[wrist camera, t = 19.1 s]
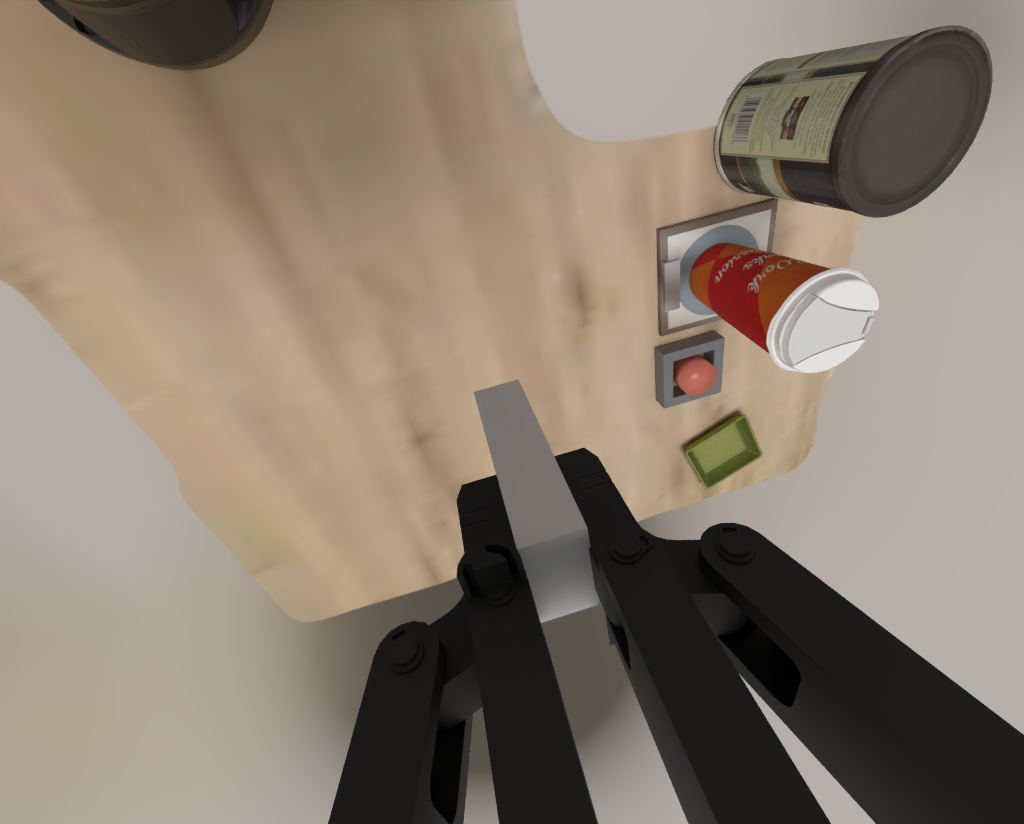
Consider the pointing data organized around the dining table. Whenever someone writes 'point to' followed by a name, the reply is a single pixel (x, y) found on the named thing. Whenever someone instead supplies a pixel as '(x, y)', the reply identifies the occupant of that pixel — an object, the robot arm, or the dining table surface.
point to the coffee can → (857, 122)
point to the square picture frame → (689, 242)
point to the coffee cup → (786, 304)
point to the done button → (694, 375)
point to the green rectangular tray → (723, 451)
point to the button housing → (682, 349)
